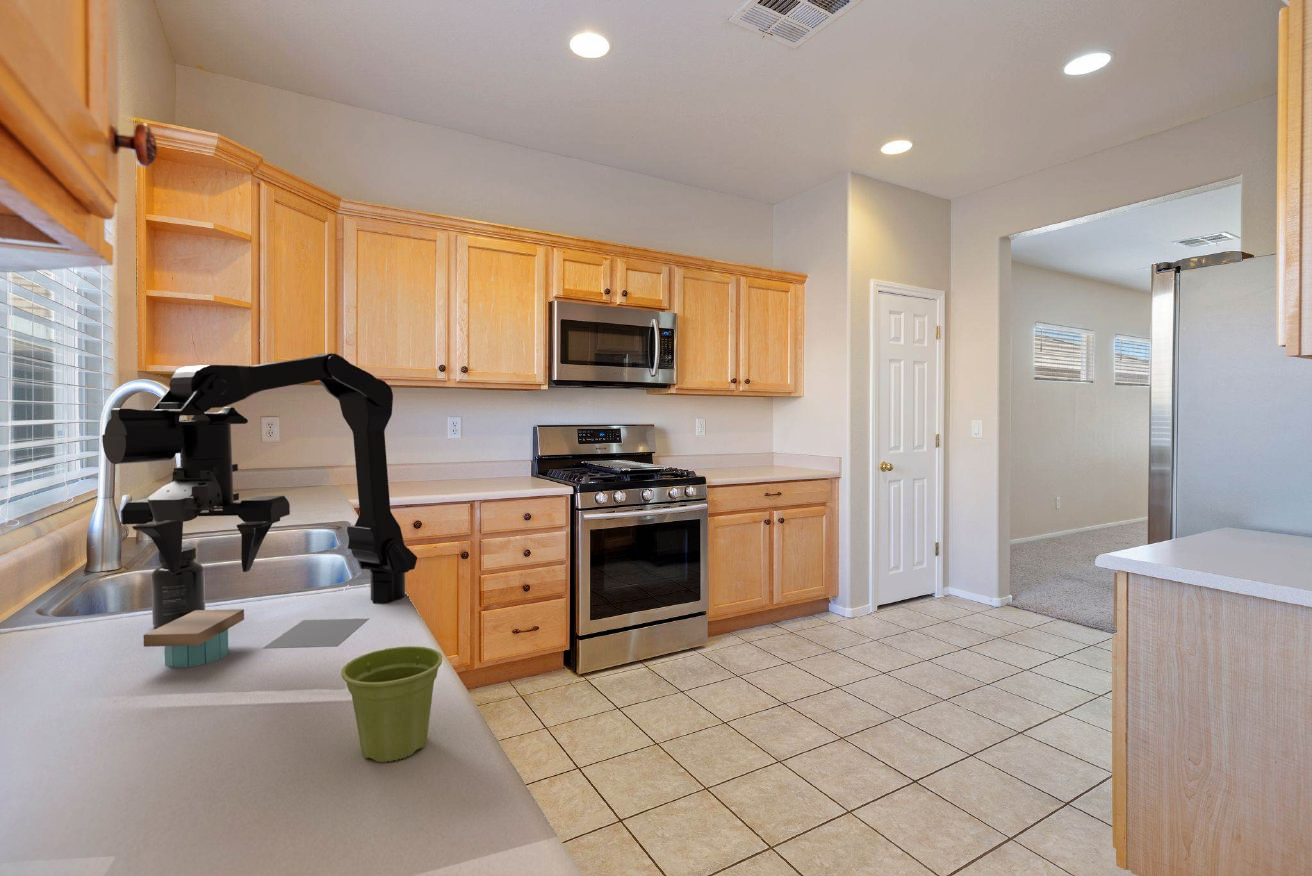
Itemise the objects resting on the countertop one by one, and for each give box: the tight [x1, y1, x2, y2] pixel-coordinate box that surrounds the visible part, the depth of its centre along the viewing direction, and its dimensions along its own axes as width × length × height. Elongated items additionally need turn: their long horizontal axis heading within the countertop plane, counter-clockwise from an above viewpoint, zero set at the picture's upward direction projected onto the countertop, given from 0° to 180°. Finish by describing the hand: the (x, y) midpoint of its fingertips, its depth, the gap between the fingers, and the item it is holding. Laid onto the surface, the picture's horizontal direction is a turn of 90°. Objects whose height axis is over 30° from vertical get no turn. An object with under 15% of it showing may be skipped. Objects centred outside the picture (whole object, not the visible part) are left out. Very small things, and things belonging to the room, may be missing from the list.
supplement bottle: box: [150, 546, 206, 629], centre depth 101 cm, size 7×7×12 cm
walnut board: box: [143, 608, 245, 648], centre depth 84 cm, size 10×6×2 cm, turn 5°
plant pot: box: [340, 645, 443, 763], centre depth 63 cm, size 9×9×9 cm
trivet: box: [262, 618, 369, 649], centre depth 93 cm, size 12×10×1 cm
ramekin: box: [164, 628, 229, 668], centre depth 84 cm, size 7×7×4 cm
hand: (210, 572), depth 85 cm, fingers open, 9 cm apart
